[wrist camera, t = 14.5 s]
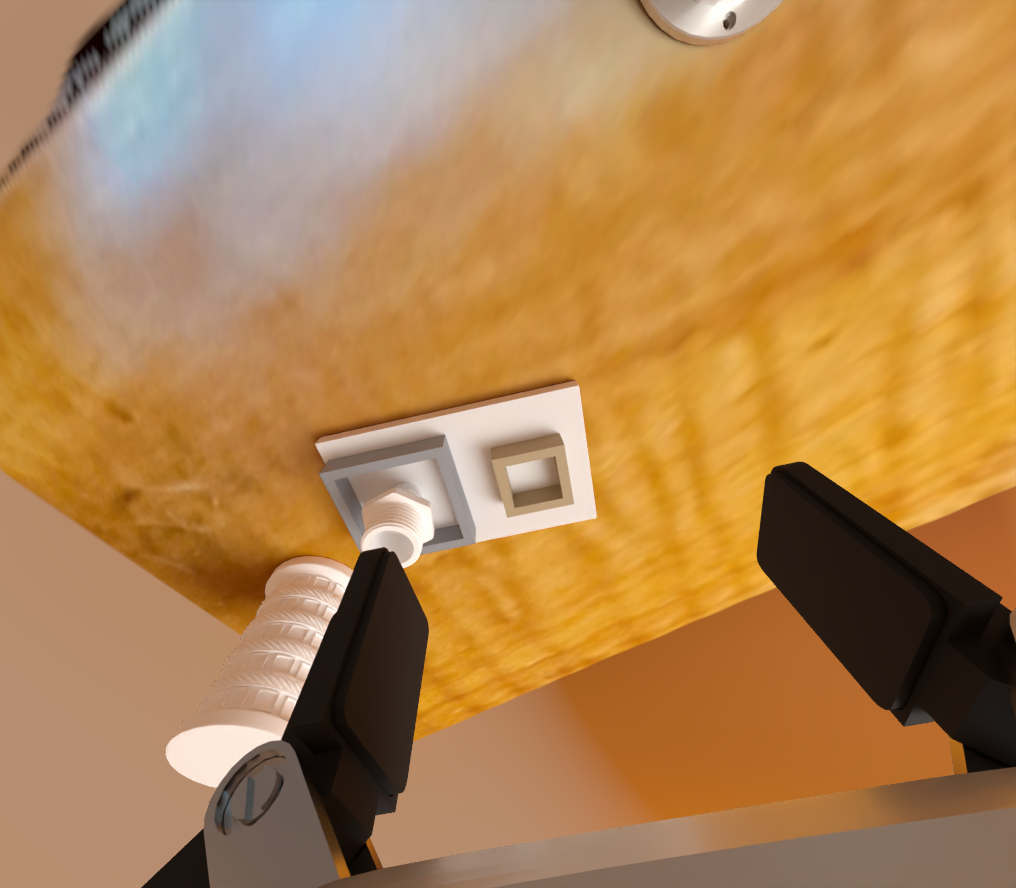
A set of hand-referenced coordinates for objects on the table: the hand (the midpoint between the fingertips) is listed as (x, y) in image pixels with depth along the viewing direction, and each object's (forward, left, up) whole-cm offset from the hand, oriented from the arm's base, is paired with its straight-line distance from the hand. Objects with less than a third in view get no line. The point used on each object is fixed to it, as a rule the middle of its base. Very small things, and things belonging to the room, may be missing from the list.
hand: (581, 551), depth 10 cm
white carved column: (+26, -30, -28) cm, 49 cm away
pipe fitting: (+14, -14, -27) cm, 34 cm away
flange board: (+14, -8, -28) cm, 33 cm away
